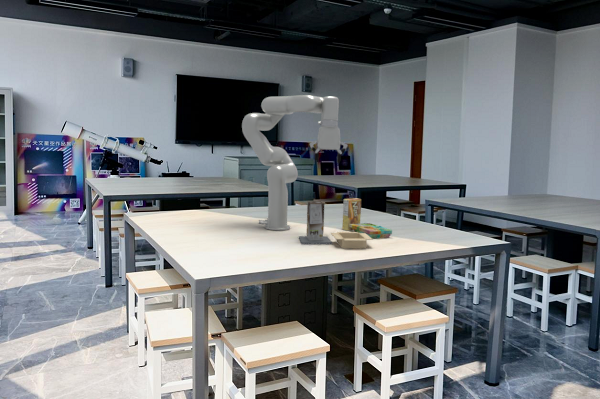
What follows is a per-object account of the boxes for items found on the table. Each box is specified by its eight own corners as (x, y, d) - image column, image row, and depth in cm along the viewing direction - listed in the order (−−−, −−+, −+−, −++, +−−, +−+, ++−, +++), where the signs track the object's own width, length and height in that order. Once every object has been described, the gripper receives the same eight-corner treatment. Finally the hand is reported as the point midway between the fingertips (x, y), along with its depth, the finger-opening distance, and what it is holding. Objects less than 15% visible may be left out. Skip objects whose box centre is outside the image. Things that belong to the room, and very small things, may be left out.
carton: (336, 249, 202) (337, 239, 201) (329, 240, 220) (330, 231, 219) (373, 249, 203) (374, 239, 203) (363, 240, 221) (363, 231, 221)
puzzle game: (370, 229, 225) (349, 222, 243) (369, 239, 226) (349, 231, 244) (392, 228, 229) (370, 221, 248) (391, 238, 230) (370, 231, 248)
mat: (301, 244, 210) (301, 241, 210) (298, 238, 223) (298, 236, 223) (332, 244, 211) (332, 242, 211) (327, 238, 224) (327, 236, 224)
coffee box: (323, 241, 213) (325, 203, 211) (308, 241, 212) (310, 203, 210) (320, 236, 222) (321, 201, 220) (305, 236, 221) (306, 200, 219)
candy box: (354, 227, 254) (355, 198, 253) (360, 229, 251) (361, 198, 249) (341, 229, 249) (343, 198, 247) (347, 230, 246) (349, 199, 244)
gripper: (311, 123, 221) (309, 162, 223) (349, 125, 222) (347, 163, 224) (309, 123, 228) (308, 161, 230) (347, 125, 230) (345, 162, 232)
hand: (327, 162), depth 227 cm, fingers open, 9 cm apart
